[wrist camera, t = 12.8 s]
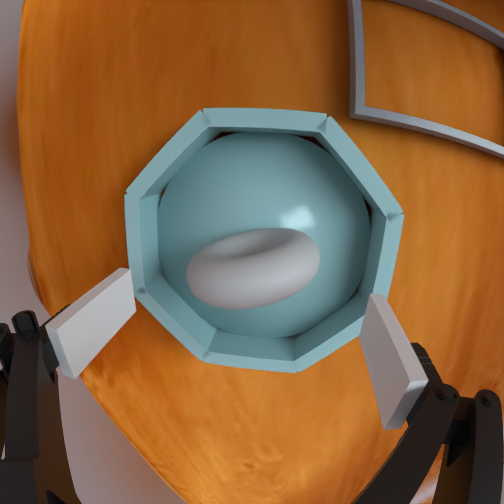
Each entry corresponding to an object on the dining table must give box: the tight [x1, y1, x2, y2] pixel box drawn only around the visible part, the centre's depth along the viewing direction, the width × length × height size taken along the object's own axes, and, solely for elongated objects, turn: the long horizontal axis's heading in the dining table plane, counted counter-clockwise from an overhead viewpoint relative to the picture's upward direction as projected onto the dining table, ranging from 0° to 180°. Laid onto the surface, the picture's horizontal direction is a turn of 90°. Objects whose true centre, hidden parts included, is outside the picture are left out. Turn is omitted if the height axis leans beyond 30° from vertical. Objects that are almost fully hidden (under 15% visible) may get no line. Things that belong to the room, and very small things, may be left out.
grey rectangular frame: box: [347, 0, 504, 159], centre depth 18 cm, size 22×16×2 cm
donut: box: [186, 228, 320, 309], centre depth 21 cm, size 10×4×10 cm, turn 101°
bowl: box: [124, 108, 404, 373], centre depth 25 cm, size 23×23×4 cm
